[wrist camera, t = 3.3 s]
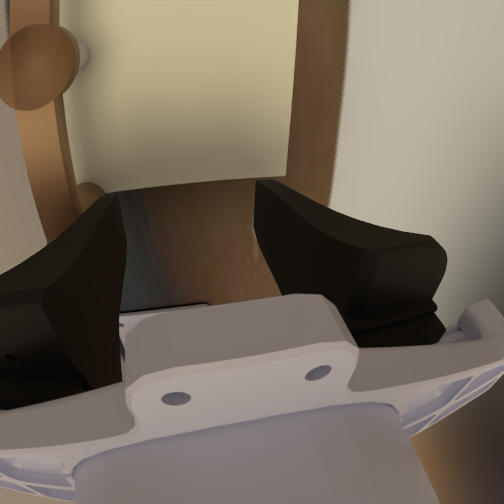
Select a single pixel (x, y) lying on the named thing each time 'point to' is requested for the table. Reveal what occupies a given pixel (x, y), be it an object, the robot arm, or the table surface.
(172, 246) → the table surface
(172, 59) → the cream shape sorter
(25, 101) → the lever
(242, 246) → the table surface
